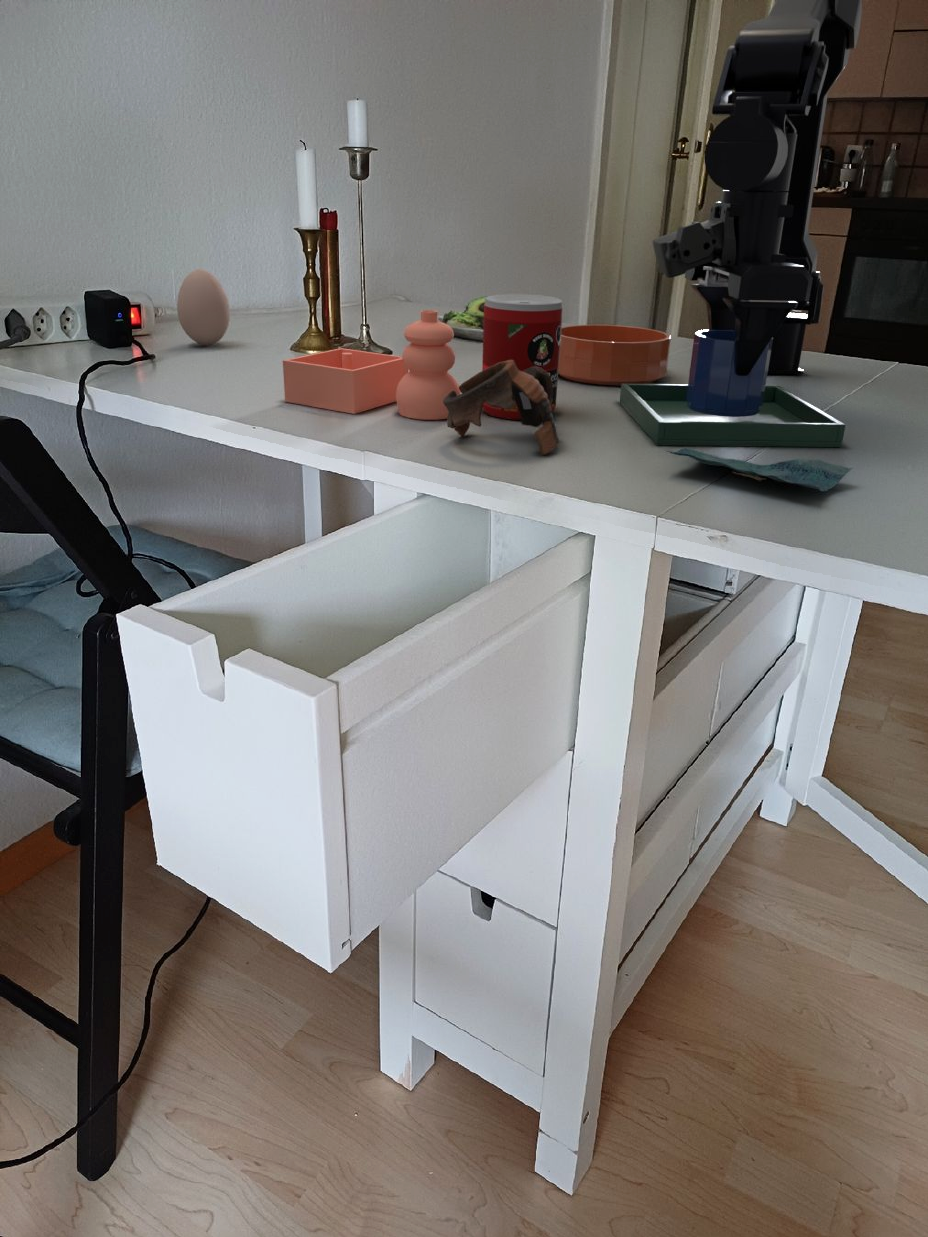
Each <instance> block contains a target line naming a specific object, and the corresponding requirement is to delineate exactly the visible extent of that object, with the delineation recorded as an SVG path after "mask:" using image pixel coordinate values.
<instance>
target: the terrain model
mask: <svg viewBox="0 0 928 1237" xmlns="http://www.w3.org/2000/svg"><path fill="white" fill-rule="evenodd" d="M666 452H667V453H670V454H671V455H676V456H683V457H689V458H691V459H694V460H696V461H698V462H700V463H702V464H704V465H709V466H714V467H715V466H717V467H726V468H729V469H731V473H733V474H736V475H739V476H743V477H745V478H747V477H749V478H751V479H755V480H756V481H760V482H761V481H762V480H765V481H766V480H767V479H768V478H769V479H772V480H773V481H775V482H780V483H787V484H792V485H798V486H801V487H806V488H810V489H815V490H818V491H821V492H827V491H829V490H830V489H832V488H833V487H835V486H836V485H837V484H838V483H839V482H840V481H841V480H843V478H844V477H846V475H848V473H850V472H851V471H852V470H853V469H854V468H853V467H848V466H844V465H838V464H835V463H830V462H827V461H825V460H822V459H814V458H799V459H790V460H785V461H779V462H775V463H772V464H765V465H759V464H755V463H751V462H749V461H745V460H740V459H734V458H720V457H718V456H713V455H711V454H709V453H705V452H702V451H698V450H695V449H694V448H693V449H692V448H690V447H689V448H688V447H685V448H680V449H678V450H676V451H670V450H666Z"/></svg>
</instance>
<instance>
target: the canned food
mask: <svg viewBox="0 0 928 1237" xmlns="http://www.w3.org/2000/svg"><path fill="white" fill-rule="evenodd" d="M487 296H488V297H486V296H485V297H486V298H485V304H484V324H483V341H482V361H481V362H482V364H481V365H482V366H481V371H483V370H485V369H487V368H489V367H490V366H492V365H495V364H497V363H499V362H503V361H507V360H514V362H515V364H516V367H517V368H518V370H519V371H524V370H526V369H528V368H530V367H534V366H536V367H540V368H542V369H543V370H545V371H546V372H547V373H548V375H549V376H550V378H551V380H552V384H553V396H552V401H551V404H550V406H551V409H552V410H551V413H552V415H553V414H554V412H555V409H556V406H557V395H558V382H559V381H558V380H559V374H558V368H559V354H560V340H561V327H563V326H562V324H563V300H562V299H561V298H557V297H554V296H549V295H548V296H547V295H538V294H521V293H519V294H517V293H509V294H507V293H506V294H493V295H487ZM512 399H513V400H514V398H513V397H512ZM514 403H515V401H514ZM515 405H516V403H515ZM516 406H517V405H516ZM482 411H483V412H484V413H485V414H487V415H489V416H491V417H495V418H498V419H505V420H517V421H521V417H520V413H519V411H518V407H516V408H514V409H510V410H507V409H503V408H495V407H491V406H490V405H488V404H487V403H485V402H484V404H483V409H482Z"/></svg>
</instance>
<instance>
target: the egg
mask: <svg viewBox="0 0 928 1237" xmlns="http://www.w3.org/2000/svg"><path fill="white" fill-rule="evenodd" d="M176 300H177V301H176V303H177V304H176V310H177V318H178V321H179V324H180V326H181V328H182V330H183V331H184V333H185V334H186V336H188V337H189V338H190V339H191V340H192V341H194V342H195V343H196V344H198V345H201V346H212V345H215V344H216V343H218V342H220V340H221V339H223V337H224V336H225V334H226V333H227V331H228V328H229V325H230V322H231V309H230V303H229V298H228V296H227V293H226V291H225V290H224V288H223V286H222V284H221V282H220V281H219V279H218V278H217V277H216V276H215V275H214V274H213V273H211V272H209V271H207V270H205V269H200V268H198V269H194V270H192V271H191V272H189V273H188V274H187V275H186V276H185V277H184V279H183V281H182V283H181V285H180V287H179V291H178V295H177V299H176Z"/></svg>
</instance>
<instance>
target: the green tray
mask: <svg viewBox="0 0 928 1237" xmlns="http://www.w3.org/2000/svg"><path fill="white" fill-rule="evenodd" d="M687 389H688V384H682V383H681V384H675V383H671V384H670V383H646V384H621V385H620V394H619V404H620V406H622V407H623V409H624V410H625V411H626V413H628V414H629V416H631V418H632V419H633V420H634V421H635V422H636V423H637V425H638V426H639V427H640V428H641V429H642V430H643V431H644V433H645V434H646V435H647V436H648V437H649V438H650V439H651V440H652V441H653V443H654V444H655V445H656V446H697V447H703V446H704V447H705V446H708V447H779V448H780V447H783V448H785V447H787V448H788V447H792V448H793V447H795V448H797V447H798V448H842V445H843V441H844V436H845V430H846V424H845V423H844V422H842V421H840V420H838V419H837V418H835V417H833V416H831V415H830V414H829V413H826V412H824V411H823V410H821V409H820V408H818V407H817V406H814V405H813V404H811V403H809V402H808V401H807V400H804V399H803V398H801V397H799V396H798V395H796V394H794V393H792V392H790V390H789V391H788V389H786V388H784V387H782V386H780V385H765V392H764V398H763V404H762V406H761V410H760V412H759V413H758V414H756V415H751V416H742V417H729V416H717V415H709V414H704V413H700V412H696V411H693V410H691V409H689V408H688V407H687V401H686V397H687Z"/></svg>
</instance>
